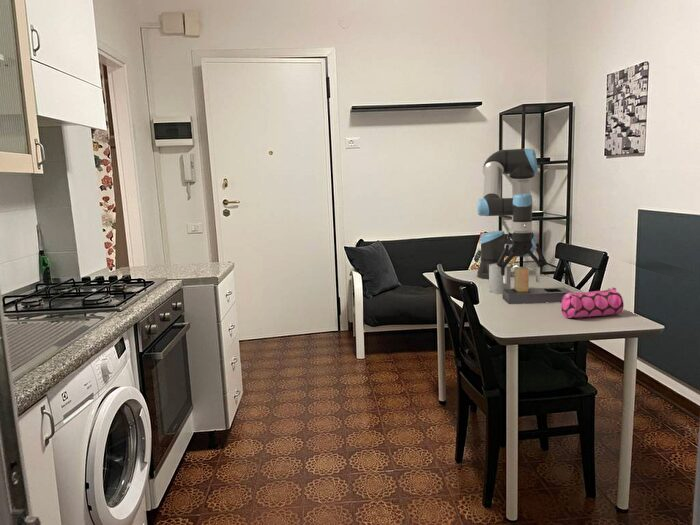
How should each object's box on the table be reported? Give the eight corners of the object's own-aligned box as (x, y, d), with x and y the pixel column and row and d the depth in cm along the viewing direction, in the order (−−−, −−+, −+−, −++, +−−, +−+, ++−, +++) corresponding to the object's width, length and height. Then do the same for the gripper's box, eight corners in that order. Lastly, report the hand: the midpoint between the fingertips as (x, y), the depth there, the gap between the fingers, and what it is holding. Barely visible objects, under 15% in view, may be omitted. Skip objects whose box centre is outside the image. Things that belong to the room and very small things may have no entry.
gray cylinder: (488, 294, 238) (489, 266, 236) (488, 289, 247) (488, 263, 245) (511, 294, 236) (511, 266, 234) (510, 289, 245) (510, 263, 243)
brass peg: (514, 299, 226) (514, 267, 224) (525, 299, 226) (525, 266, 224) (517, 302, 222) (517, 268, 219) (528, 301, 221) (528, 268, 219)
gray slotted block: (502, 298, 229) (502, 289, 228) (563, 296, 228) (564, 287, 227) (508, 304, 219) (508, 294, 218) (572, 302, 218) (573, 292, 218)
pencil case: (606, 310, 205) (607, 284, 203) (624, 316, 195) (626, 289, 194) (557, 315, 200) (558, 289, 198) (574, 322, 190) (575, 294, 189)
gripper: (493, 233, 216) (493, 285, 219) (556, 231, 215) (554, 283, 218) (489, 231, 223) (489, 281, 227) (549, 229, 222) (548, 279, 226)
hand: (521, 282), depth 223 cm, fingers open, 13 cm apart
